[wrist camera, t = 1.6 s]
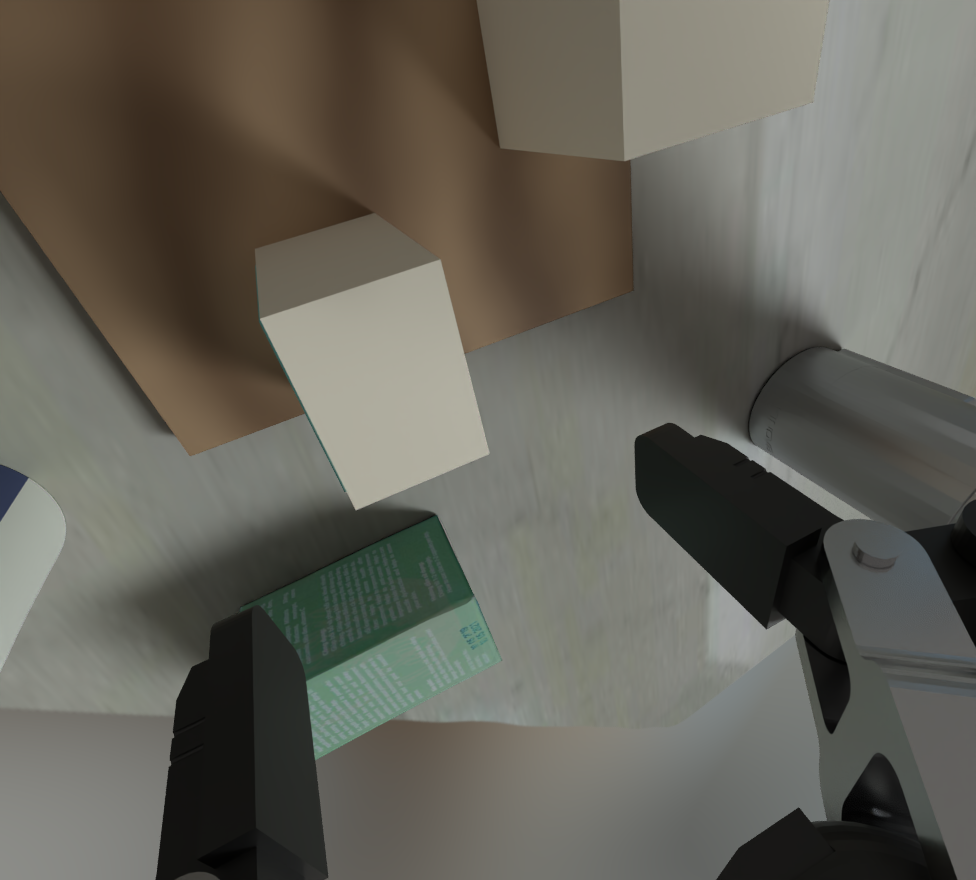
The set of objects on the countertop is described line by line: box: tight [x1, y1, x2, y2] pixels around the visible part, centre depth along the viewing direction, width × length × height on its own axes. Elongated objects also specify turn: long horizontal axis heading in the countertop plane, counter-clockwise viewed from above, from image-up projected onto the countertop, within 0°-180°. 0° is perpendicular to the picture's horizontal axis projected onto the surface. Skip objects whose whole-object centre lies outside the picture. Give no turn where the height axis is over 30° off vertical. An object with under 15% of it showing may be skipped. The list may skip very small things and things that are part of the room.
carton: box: [255, 213, 489, 510], centre depth 19 cm, size 7×5×9 cm
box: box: [240, 515, 502, 760], centre depth 31 cm, size 7×14×8 cm, turn 105°
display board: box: [0, 0, 634, 456], centre depth 21 cm, size 24×17×2 cm
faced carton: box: [476, 0, 829, 161], centre depth 17 cm, size 7×5×9 cm
